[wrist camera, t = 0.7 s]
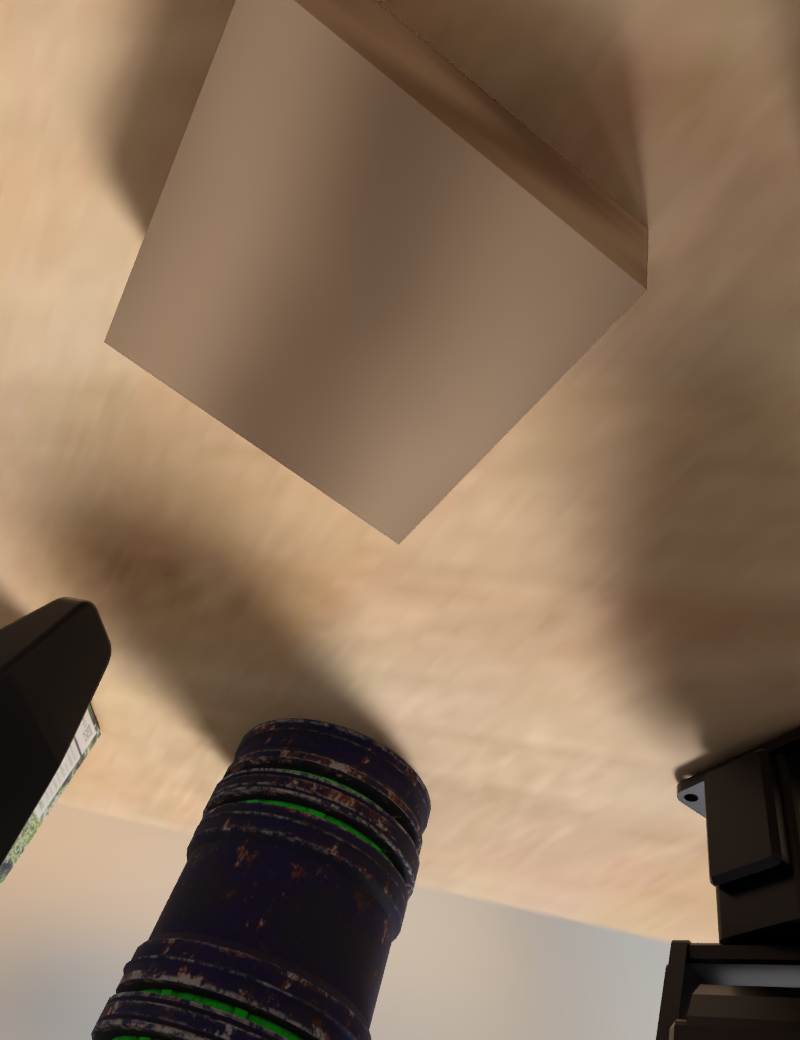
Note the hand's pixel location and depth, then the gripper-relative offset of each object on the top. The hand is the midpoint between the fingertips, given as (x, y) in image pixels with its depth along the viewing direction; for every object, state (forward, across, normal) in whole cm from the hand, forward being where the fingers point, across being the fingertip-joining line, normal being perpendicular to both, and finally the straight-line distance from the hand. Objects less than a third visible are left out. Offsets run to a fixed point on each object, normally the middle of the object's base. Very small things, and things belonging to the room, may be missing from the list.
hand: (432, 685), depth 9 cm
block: (+13, +4, -1) cm, 14 cm away
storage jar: (+13, +8, +25) cm, 29 cm away
